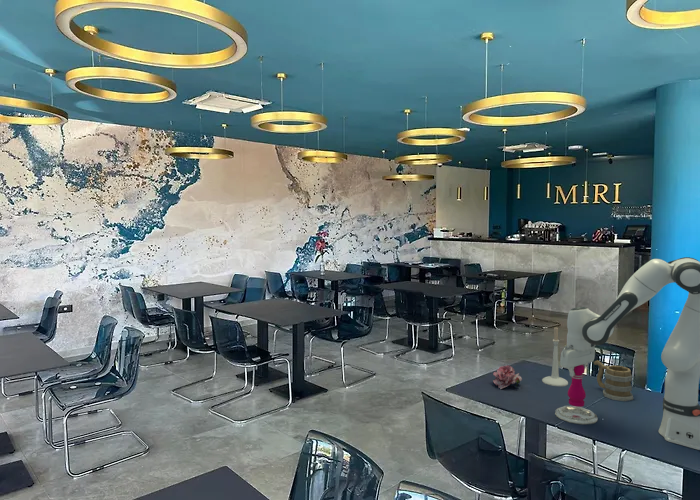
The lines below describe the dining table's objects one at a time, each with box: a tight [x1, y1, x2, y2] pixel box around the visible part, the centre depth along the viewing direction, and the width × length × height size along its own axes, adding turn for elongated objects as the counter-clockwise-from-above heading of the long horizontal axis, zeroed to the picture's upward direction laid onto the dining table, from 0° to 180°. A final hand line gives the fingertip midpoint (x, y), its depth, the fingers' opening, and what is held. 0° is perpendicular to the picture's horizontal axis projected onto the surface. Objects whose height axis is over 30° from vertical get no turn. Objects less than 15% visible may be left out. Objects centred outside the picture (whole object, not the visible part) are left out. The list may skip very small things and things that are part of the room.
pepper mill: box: [567, 365, 586, 408], centre depth 214 cm, size 7×7×20 cm
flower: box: [492, 364, 523, 390], centre depth 254 cm, size 15×15×10 cm
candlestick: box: [541, 326, 569, 387], centre depth 259 cm, size 13×13×30 cm
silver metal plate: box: [554, 405, 599, 426], centre depth 215 cm, size 17×17×2 cm
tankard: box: [593, 359, 634, 402], centre depth 242 cm, size 20×13×15 cm, turn 22°
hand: (577, 374), depth 214 cm, fingers closed on pepper mill, 5 cm apart
